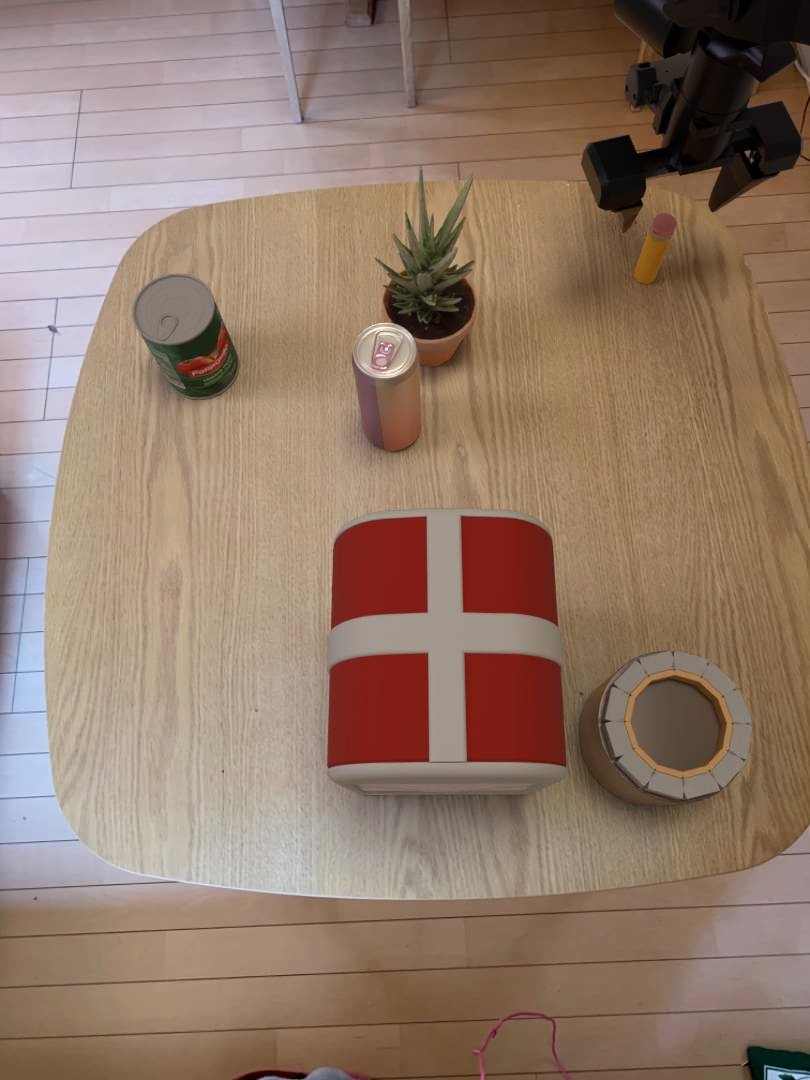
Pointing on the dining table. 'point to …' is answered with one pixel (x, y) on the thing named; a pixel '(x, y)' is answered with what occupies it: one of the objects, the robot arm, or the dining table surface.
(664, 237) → the pencil
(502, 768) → the red gift box
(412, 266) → the potted plant
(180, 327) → the canned tomato
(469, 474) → the dining table surface
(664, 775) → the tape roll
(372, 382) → the beverage can
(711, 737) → the brown cylindrical pot
